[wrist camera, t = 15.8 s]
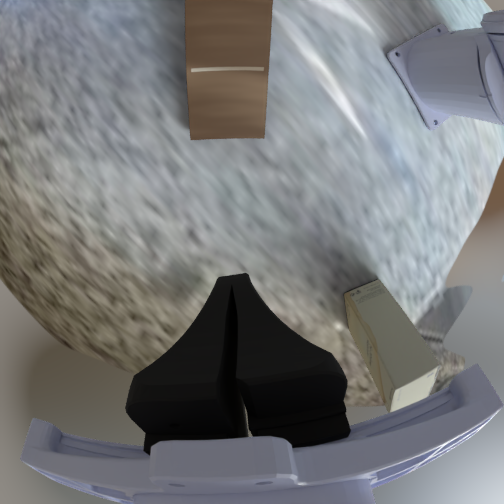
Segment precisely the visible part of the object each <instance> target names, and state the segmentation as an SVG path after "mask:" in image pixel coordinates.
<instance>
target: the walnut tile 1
mask: <svg viewBox="0 0 504 504" xmlns="http://www.w3.org/2000/svg"><path fill="white" fill-rule="evenodd" d="M272 5H273V0H185V44H186V74H187V94H188V110H189V125H190V138H191V140H201V139H227V138H264V135H265V120H266V104H267V88H268V72H269V56H270V39H271V23H272Z"/></svg>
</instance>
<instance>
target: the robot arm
mask: <svg viewBox="0 0 504 504" xmlns="http://www.w3.org/2000/svg"><path fill="white" fill-rule="evenodd" d="M480 24H481V26H482V27H483V28H473V29H465V30H458V31H452V32H449V31H448V29H447V27H446V26H445V25H444V24H439V25H437V26H435V27H433V28H431V29H429V30H427V31H425V32H423V33H421V34H419V35H417V36H416V37H414V38H412V39H410V40H408V41H407V42H405V43H403V44H401V45H400V46H398V47H396V48H394V49H393V50H391V51H389V52H388V53H387V57H388V59H389V61H390V62H391V64H392V65H393V67H394V68H395V70H396V71H397V73H398V75H399V76H400V78H401V79H402V81H403V83H404V84H405V86H406V88H407V89H408V91H409V93H410V95H411V96H412V98H413V100H414V102H415V104H416V106H417V108H418V109H419V111H420V113H421V115H422V117H423V119H424V121H425V123H426V125H427V127H428V129H430V130H435V129H436V128H437V127H438V126H440V125H441V124H442V123H443V122H444V121H445V120H447V119H448V118H449V117H450V116H451V115H457V116H463V117H468V118H473V119H478V120H482V121H487V122H491V123H495V124H499V125H503V126H504V10H499V11H494V12H489V13H486V14H484V15H483V18H482V21H481V23H480ZM438 31H439V32H438ZM395 52H396V53H397V55H398V57H397V56H396V55H395ZM434 120H435V124H434ZM346 390H347V379H346V376H345V374H344V372H343V370H342V368H341V366H340V365H339V363H338V362H337V360H336V359H335V357H334V356H333V355H332V353H330V352H328V351H326V350H324V349H322V348H320V347H318V346H316V345H314V344H312V343H310V342H309V341H307V340H306V339H304V338H303V337H301V336H300V335H298V334H297V333H296V332H294V331H293V330H292V329H290V328H289V327H288V326H287V325H286V324H284V323H283V322H282V321H281V320H280V319H279V318H278V317H277V316H276V315H275V314H274V313H273V312H272V311H271V310H270V309H269V307H268V306H267V305H266V304H265V303H264V301H263V300H262V299H261V297H260V296H259V294H258V293H257V291H256V290H255V288H254V286H253V285H252V283H251V280H250V278H249V275H248V274H247V273H243V274H236V275H229V276H223V277H219V278H218V279H217V281H216V283H215V285H214V288H213V290H212V292H211V294H210V296H209V297H208V299H207V301H206V303H205V305H204V306H203V308H202V310H201V311H200V313H199V314H198V316H197V317H196V319H195V320H194V322H193V323H192V324H191V326H190V327H189V328H188V330H187V331H186V332H185V333H184V335H183V336H182V337H181V338H180V339H179V340H178V341H177V342H176V343H175V344H174V345H173V346H172V347H171V348H170V349H169V350H168V351H167V352H166V353H164V354H163V355H162V356H161V357H160V358H158V359H157V360H156V361H155V362H153V363H152V364H151V365H149V366H148V367H146V368H145V369H143V370H142V371H140V372H139V373H137V374H136V375H134V378H133V380H132V383H131V386H130V390H129V394H128V398H127V403H126V407H125V409H126V413H127V414H128V415H129V417H130V418H131V419H132V420H133V421H134V422H135V423H136V424H137V425H138V426H139V427H140V428H141V429H142V430H143V431H144V432H145V433H146V434H145V441H144V446H137V445H127V444H120V443H113V442H106V441H100V440H95V439H89V438H84V437H80V436H75V435H71V434H67V433H63V432H61V430H59V429H58V428H57V427H56V426H54V425H53V424H51V423H49V422H47V421H43V420H40V419H36V418H33V419H32V422H31V425H30V428H29V431H28V434H27V437H26V441H25V444H24V447H23V451H22V454H21V458H20V459H21V461H22V462H24V463H25V464H27V465H28V466H30V467H31V468H33V469H35V470H36V471H38V472H40V473H41V474H43V475H45V476H47V477H48V478H50V479H52V480H54V481H56V482H58V483H61V484H63V485H66V486H69V487H71V488H74V489H77V490H80V491H82V492H86V493H88V494H91V495H94V496H98V497H101V498H104V499H108V500H111V501H115V502H119V503H122V504H376V502H375V499H374V495H373V492H372V488H375V487H378V486H380V485H382V484H385V483H388V482H390V481H392V480H394V479H397V478H399V477H401V476H403V475H405V474H407V473H409V472H411V471H413V470H415V469H417V468H419V467H421V466H423V465H425V464H427V463H429V462H430V461H432V460H434V459H436V458H438V457H439V456H441V455H443V454H444V453H446V452H448V451H449V450H451V449H453V448H454V447H456V446H457V445H459V444H461V443H462V442H464V441H465V440H467V439H468V438H470V437H471V436H473V435H474V434H475V433H476V432H478V430H480V429H481V428H482V427H483V426H484V425H485V424H486V423H487V422H488V421H489V420H490V419H491V418H493V416H494V415H495V414H496V413H497V412H498V411H499V410H500V409H501V408H502V407H503V403H502V401H501V399H500V398H499V396H498V395H497V393H496V391H495V390H494V388H493V386H492V385H491V383H490V381H489V380H488V378H487V377H486V375H485V374H484V372H483V371H482V369H481V368H480V366H479V365H478V364H474V365H473V366H471V367H469V368H467V369H466V370H464V371H462V372H460V373H459V374H457V375H456V376H455V377H454V378H453V379H452V381H451V382H450V384H449V387H447V388H445V389H443V390H441V391H439V392H437V393H435V394H433V395H431V396H428V397H426V398H424V399H422V400H420V401H417V402H415V403H413V404H410V405H408V406H406V407H403V408H401V409H398V410H395V411H393V412H390V413H388V414H385V415H382V416H379V417H376V418H373V419H370V420H367V421H364V422H361V423H358V424H354V425H351V426H349V423H348V420H347V417H346V414H345V413H346V407H345V404H344V397H345V393H346ZM244 404H245V405H244ZM245 407H246V410H247V415H248V426H249V430H250V431H251V434H252V436H253V437H248V429H247V422H246V414H245Z"/></svg>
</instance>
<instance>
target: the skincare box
mask: <svg viewBox="0 0 504 504" xmlns="http://www.w3.org/2000/svg"><path fill="white" fill-rule="evenodd" d="M344 298H345V306H346V313H347V319H348V326H349V331H350V333H351V335H352V337H353V339H354V341H355V343H356V345H357V347H358V349H359V351H360V353H361V355H362V357H363V359H364V361H365V363H366V366H367V368H368V370H369V372H370V374H371V376H372V378H373V380H374V382H375V384H376V387H377V389H378V391H379V393H380V395H381V397H382V400H383V402H384V404H385V406H386V408H387V411H388V413H390V412H393V411H395V410H398V409H401V408H403V407H406V406H408V405H410V404H413V403H415V402H417V401H420V400H422V399H424V398H426V397H428V396H429V394H430V392H431V389H432V387H433V385H434V382H435V380H436V377H437V374H438V371H439V368H440V363H439V362H438V360H437V359H436V357H435V356H434V354H433V353H432V351H431V350H430V348H429V347H428V345H427V344H426V342H425V341H424V339H423V338H422V336H421V335H420V333H419V332H418V331H417V329H416V328H415V326H414V325H413V323H412V322H411V321H410V319H409V318H408V316H407V315H406V314H405V312H404V311H403V310H402V308H401V307H400V305H399V304H398V303H397V302H396V300H395V299H394V298H393V296H392V295H391V294H390V292H389V291H388V290H387V288H386V287H385V286H384V285H383V283H382V282H381V281H380V280H379V279H378V280H376V281H373V282H371V283H368V284H366V285H363V286H361V287H359V288H356V289H354V290H351V291H349V292H347V293H345V294H344Z"/></svg>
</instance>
